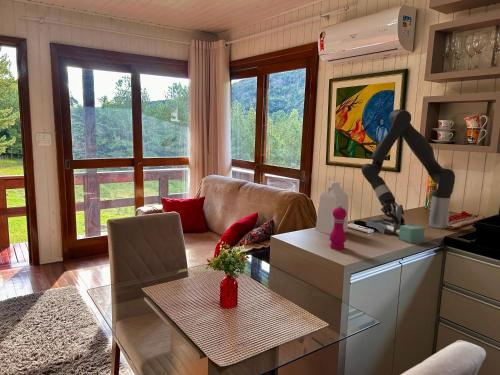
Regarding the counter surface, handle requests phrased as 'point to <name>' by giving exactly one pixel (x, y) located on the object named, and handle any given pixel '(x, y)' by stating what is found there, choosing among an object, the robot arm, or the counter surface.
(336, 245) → the pepper mill
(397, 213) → the grey piece
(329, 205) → the milk
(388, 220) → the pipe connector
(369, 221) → the grey grooved block
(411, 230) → the teal block
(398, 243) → the counter surface
